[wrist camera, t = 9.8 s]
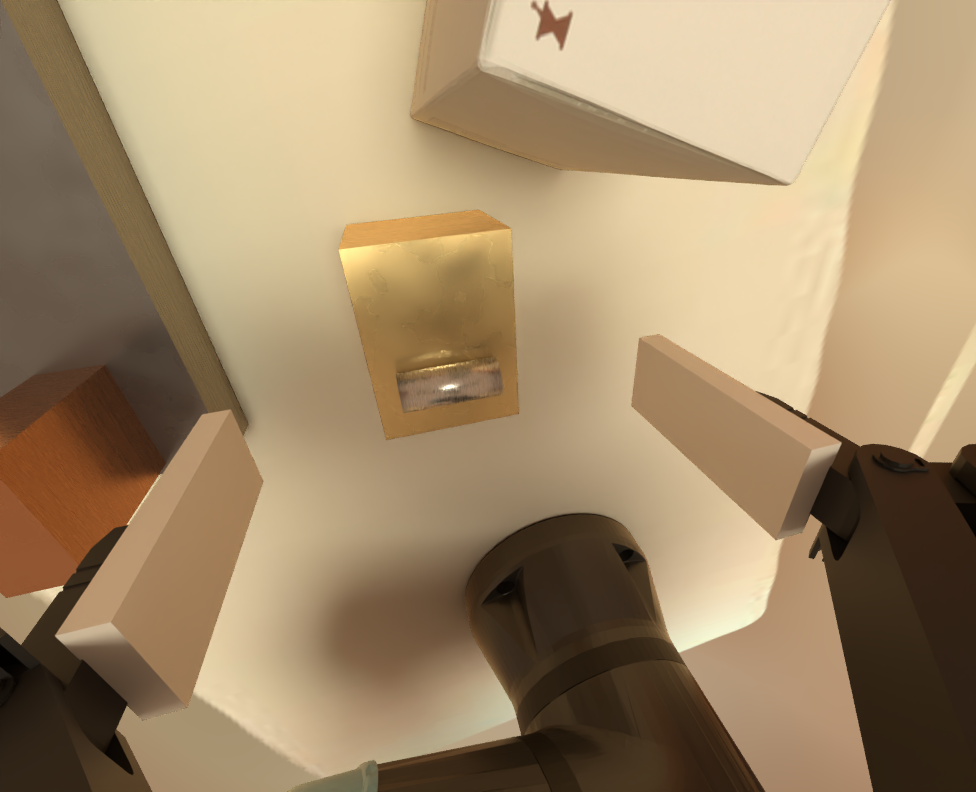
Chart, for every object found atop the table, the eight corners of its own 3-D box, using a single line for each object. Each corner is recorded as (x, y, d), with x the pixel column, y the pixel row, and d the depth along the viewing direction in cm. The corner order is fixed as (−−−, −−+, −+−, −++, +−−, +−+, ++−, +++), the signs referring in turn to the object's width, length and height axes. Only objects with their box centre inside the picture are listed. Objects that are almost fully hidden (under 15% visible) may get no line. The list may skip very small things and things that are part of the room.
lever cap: (490, 362, 24) (528, 431, 18) (383, 380, 23) (387, 460, 17) (478, 209, 19) (523, 235, 14) (346, 224, 19) (335, 258, 13)
